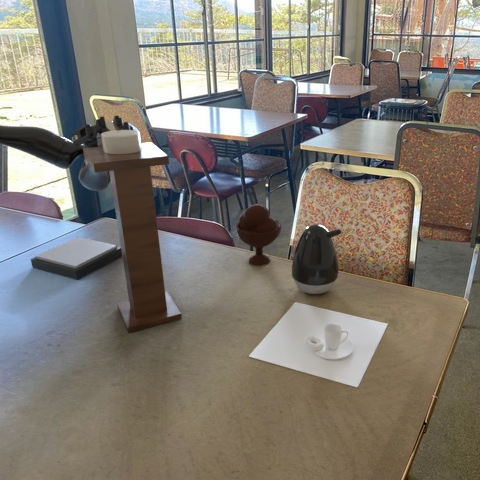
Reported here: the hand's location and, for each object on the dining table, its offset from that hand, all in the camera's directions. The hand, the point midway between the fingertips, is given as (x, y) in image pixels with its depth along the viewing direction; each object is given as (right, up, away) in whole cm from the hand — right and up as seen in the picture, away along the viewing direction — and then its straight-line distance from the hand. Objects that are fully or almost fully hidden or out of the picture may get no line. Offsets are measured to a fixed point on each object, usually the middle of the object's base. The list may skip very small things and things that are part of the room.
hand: (110, 120), depth 91 cm
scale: (-18, -28, +24) cm, 41 cm away
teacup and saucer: (+40, -41, -2) cm, 58 cm away
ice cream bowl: (+25, -28, +27) cm, 46 cm away
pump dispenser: (+39, -34, +15) cm, 54 cm away
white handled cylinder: (+2, -5, -1) cm, 5 cm away
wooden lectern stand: (+5, -37, +6) cm, 37 cm away
